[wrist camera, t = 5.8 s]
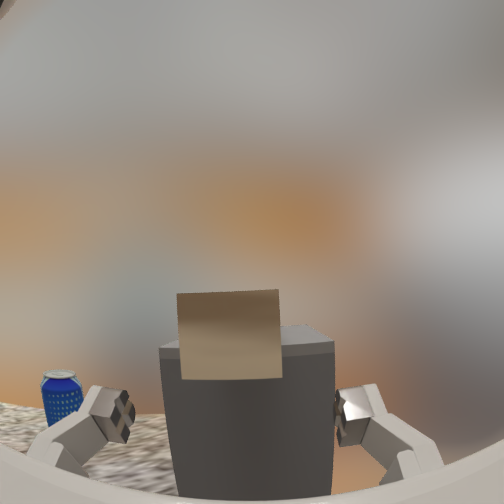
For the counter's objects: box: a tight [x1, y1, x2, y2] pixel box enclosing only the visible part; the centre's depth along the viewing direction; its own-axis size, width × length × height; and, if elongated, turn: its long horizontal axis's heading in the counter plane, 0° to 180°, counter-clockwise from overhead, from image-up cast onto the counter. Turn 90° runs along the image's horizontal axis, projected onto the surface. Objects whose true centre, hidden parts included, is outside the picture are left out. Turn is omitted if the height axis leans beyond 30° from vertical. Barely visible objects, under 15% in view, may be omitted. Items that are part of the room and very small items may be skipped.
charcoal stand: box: [159, 325, 335, 501], centre depth 25 cm, size 14×12×26 cm
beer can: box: [40, 370, 84, 427], centre depth 43 cm, size 8×8×16 cm
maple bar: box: [177, 289, 282, 380], centre depth 23 cm, size 24×4×4 cm, turn 178°
